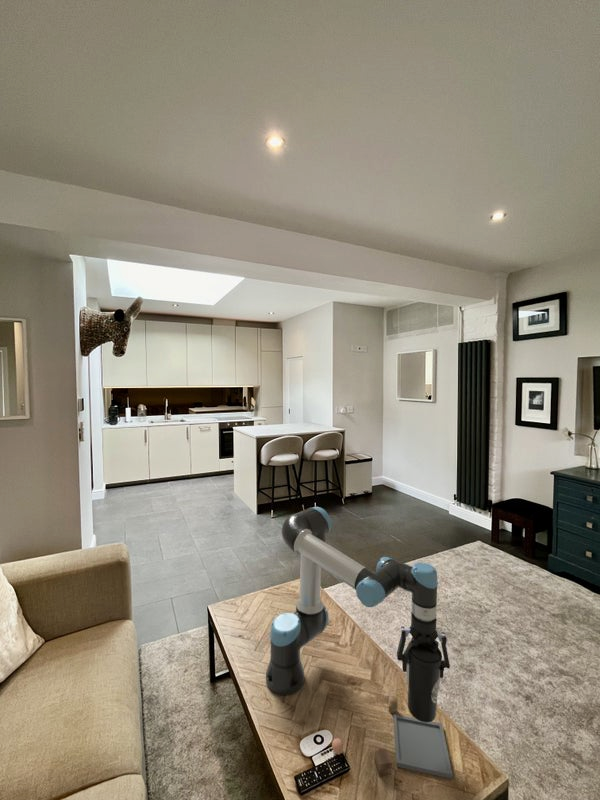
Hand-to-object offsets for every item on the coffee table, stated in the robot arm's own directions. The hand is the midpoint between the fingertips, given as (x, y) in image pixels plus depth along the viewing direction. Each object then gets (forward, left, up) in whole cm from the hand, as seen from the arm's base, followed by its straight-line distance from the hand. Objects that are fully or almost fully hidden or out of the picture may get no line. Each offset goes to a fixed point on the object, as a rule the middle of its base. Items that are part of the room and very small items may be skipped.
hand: (422, 683), depth 111 cm
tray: (0, 0, -21) cm, 21 cm away
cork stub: (-8, +11, -21) cm, 25 cm away
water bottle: (0, 0, -9) cm, 9 cm away
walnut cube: (-12, -9, -21) cm, 26 cm away
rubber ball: (-26, -7, -21) cm, 34 cm away
